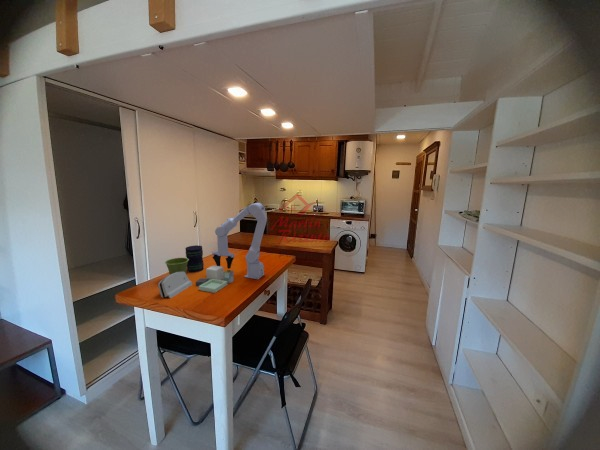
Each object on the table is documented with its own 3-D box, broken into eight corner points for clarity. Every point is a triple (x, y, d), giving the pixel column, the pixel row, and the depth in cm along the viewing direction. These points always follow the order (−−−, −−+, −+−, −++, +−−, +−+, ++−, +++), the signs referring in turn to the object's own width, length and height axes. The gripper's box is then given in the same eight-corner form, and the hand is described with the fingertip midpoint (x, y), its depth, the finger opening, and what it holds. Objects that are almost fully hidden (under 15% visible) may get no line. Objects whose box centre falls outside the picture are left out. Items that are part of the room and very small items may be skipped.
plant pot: (174, 285, 120) (173, 265, 119) (162, 280, 126) (160, 261, 124) (194, 277, 131) (193, 259, 129) (182, 273, 136) (180, 256, 134)
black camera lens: (206, 267, 148) (205, 245, 145) (199, 272, 138) (198, 249, 136) (191, 267, 148) (190, 245, 145) (183, 272, 138) (182, 249, 136)
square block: (209, 282, 125) (208, 278, 124) (205, 286, 120) (204, 282, 120) (200, 282, 125) (200, 278, 125) (195, 286, 120) (195, 282, 120)
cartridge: (233, 280, 127) (233, 270, 126) (229, 283, 123) (228, 272, 122) (227, 279, 128) (227, 269, 127) (223, 282, 125) (222, 271, 124)
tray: (227, 284, 121) (227, 281, 121) (214, 293, 112) (214, 289, 112) (212, 282, 125) (211, 278, 124) (198, 290, 115) (198, 286, 115)
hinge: (169, 298, 106) (162, 279, 105) (162, 300, 107) (154, 281, 106) (193, 284, 122) (186, 267, 121) (186, 286, 123) (179, 269, 122)
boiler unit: (224, 278, 131) (223, 266, 129) (217, 282, 125) (216, 270, 124) (212, 276, 133) (211, 265, 132) (205, 280, 127) (204, 268, 126)
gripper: (208, 246, 132) (209, 268, 134) (228, 248, 127) (229, 271, 129) (216, 243, 138) (217, 264, 141) (236, 245, 134) (237, 267, 136)
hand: (223, 267), depth 135 cm, fingers open, 7 cm apart
